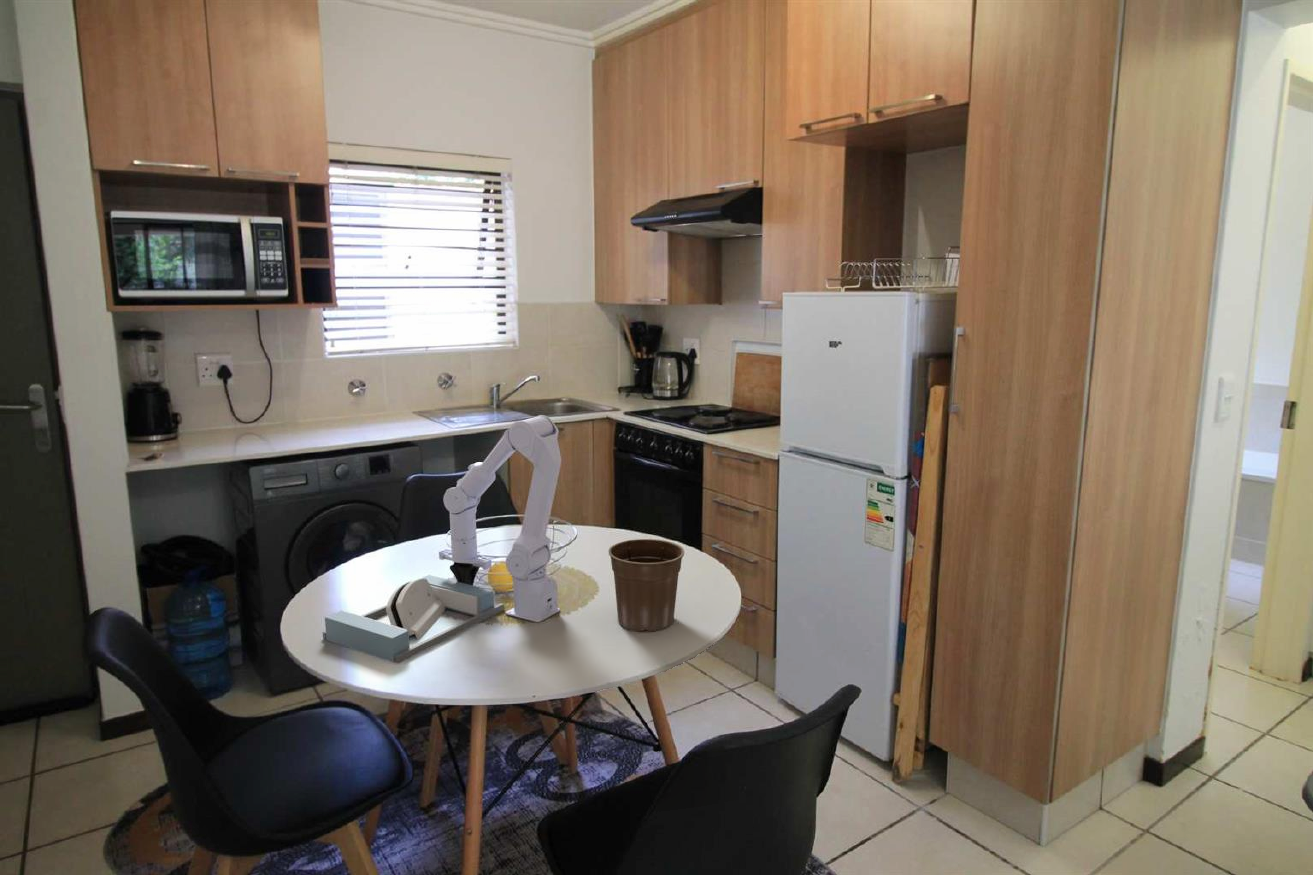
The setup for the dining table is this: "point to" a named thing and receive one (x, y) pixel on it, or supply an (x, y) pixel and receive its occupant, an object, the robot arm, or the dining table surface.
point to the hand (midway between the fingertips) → (466, 593)
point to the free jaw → (461, 595)
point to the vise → (387, 633)
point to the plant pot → (646, 582)
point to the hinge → (414, 607)
